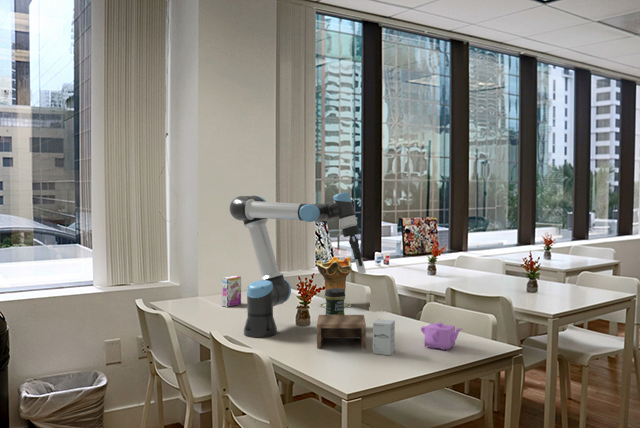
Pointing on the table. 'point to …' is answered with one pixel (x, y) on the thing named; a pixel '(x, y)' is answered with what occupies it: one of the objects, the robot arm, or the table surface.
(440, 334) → the teapot
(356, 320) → the walnut shelf
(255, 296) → the robot arm
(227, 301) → the candy bar box
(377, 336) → the supplement box
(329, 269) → the decorative vase
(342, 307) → the coffee jar
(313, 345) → the table surface
